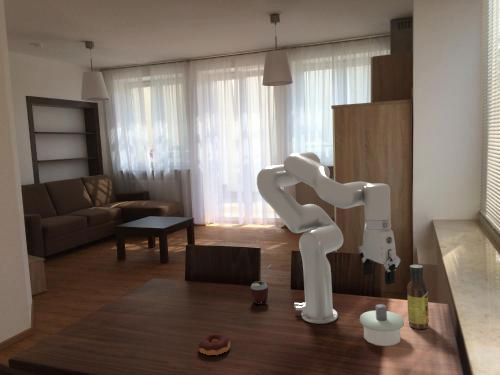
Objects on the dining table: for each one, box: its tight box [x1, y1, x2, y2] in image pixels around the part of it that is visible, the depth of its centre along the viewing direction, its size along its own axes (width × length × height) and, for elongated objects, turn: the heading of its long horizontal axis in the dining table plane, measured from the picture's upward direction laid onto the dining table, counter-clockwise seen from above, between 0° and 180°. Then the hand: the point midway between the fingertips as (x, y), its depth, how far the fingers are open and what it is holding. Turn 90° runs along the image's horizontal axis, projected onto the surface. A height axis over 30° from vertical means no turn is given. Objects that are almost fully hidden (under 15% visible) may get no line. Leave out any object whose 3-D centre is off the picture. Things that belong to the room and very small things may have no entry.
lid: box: [359, 304, 405, 331], centre depth 127 cm, size 13×13×5 cm
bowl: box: [363, 326, 401, 347], centre depth 127 cm, size 11×11×5 cm
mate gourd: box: [249, 264, 272, 305], centre depth 162 cm, size 8×8×15 cm
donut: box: [198, 332, 231, 356], centre depth 127 cm, size 10×10×4 cm
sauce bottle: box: [406, 264, 430, 330], centre depth 133 cm, size 7×6×20 cm
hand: (378, 278), depth 126 cm, fingers open, 9 cm apart
